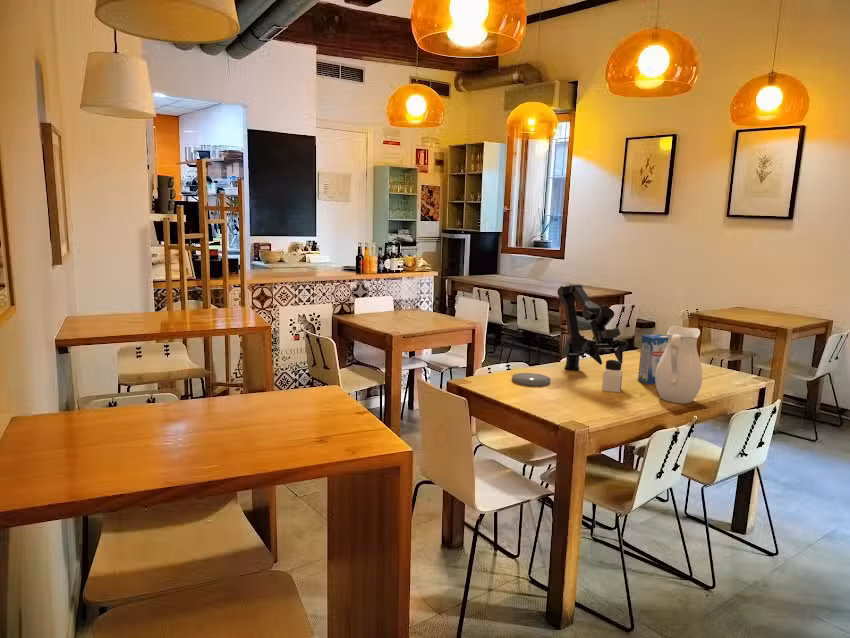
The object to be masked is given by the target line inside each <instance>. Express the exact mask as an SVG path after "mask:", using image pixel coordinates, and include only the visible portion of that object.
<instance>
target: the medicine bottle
mask: <svg viewBox="0 0 850 638" xmlns="http://www.w3.org/2000/svg"><path fill="white" fill-rule="evenodd" d="M622 364H623V362H622V363H621V362H620V361H618V359H608V360H607V361H606V362H605V369H604V371H603V374H602V385H601V391H604V392H613V393H621V390H622V382H623V381H622V378H623V371H622Z"/></svg>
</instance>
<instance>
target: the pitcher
mask: <svg viewBox="0 0 850 638" xmlns="http://www.w3.org/2000/svg"><path fill="white" fill-rule="evenodd" d="M700 335H701V330H700V329H699V328H697V327H683V326H679V325H671V326H670V327H669V329H668V330H667V333H666V336H668V344H667V347H666V349H665V351H664V353H663V355H662V356H661V358H660V360H659V363H658V365H657V368H656V373H655V383H656V384H655V387H656V390H657V392H658V394H659V396H660V398H661V399H662V400H664V401H666V402H670V403H673V404H683V405H684V404H690V403H691V402H693V400H694V399H695V398H696V397H697V396H698V394H699V393H700V390H701V387H702V383H703V368H702V363H701V360H700V357H699V356H700V355H699V353H698V349H697V344H698V343H697V342H698V339H699V338H700Z"/></svg>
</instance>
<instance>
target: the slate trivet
mask: <svg viewBox="0 0 850 638" xmlns="http://www.w3.org/2000/svg"><path fill="white" fill-rule="evenodd" d="M511 382H513V383H514V384H516V383H517V385H519V384H520V385H519V386H524V385H526V387H533V386H537V387H538V388H539V387H547V386H549V385H551V378H550V377H549V376H547V375H545V374H540V373H534V372H519V373H514V374H512V375H511Z"/></svg>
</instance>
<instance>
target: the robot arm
mask: <svg viewBox="0 0 850 638" xmlns="http://www.w3.org/2000/svg"><path fill="white" fill-rule="evenodd" d="M559 286H560V285H559ZM557 295H558V299H559V302H560V303H561V305H563V308H564V309H563V310H564V314H565V321H566V322H565V323H566V326H567V335H568V336H567V338H566V340H565V345H564V347H563V348H562V349H561V350H562V351H561V352H562V355H563V356H565V357H566V360H565V365H564V370H569V371H580V366H579V365H580V357H584V355H585V354H586V356H590V358H592V359H593V360H594V361H596V363H598V364H599V365H602V364H603V361H602V358H601V355H600V353H599V349H607V350H608V349H612V350H613V354H614V355H615V358H616V360H618V361H620V362H621V363H622V364H623V354H624V351H625V350H626V349H627V347H628V346H629V343H628V340H626V339H617V340H616V341H615V342H614V343H612V342H613V341H614V339H615V338H618V337H620V336H621V330H620V328H619V327H615V328H612V329H610V328H609V329H607V327H606V326H607V325H609V324H610V322H611V321H612V320H613V318H614V317H615V311H613V309H612V308H610V307H608V305H604V304H603V305H602V306H601V307H600V306H599V305H598V304H597V303H594V302H593V301H592V300H591V299H590V297H589V296H588V294H587V293H586V291H585V289H584V288H583V285H582V284H580V283H579V284H577V283H576V284H574V283H573V284H570V285H561V286H560V287H559V288H557ZM576 301H577V303H578V304H579V306H580V307H581V310H582V311H581V314H582V316H583V317H582V318H583V319H584V320H585V321H590V322H589V324H588V326H587V329H588V330H591V332H592V335H593V336H592V340H586V338H585V336H584V335H581V334H580V333H581V332H580V330H579V323H578V317H577V309H576V304H575V303H576Z"/></svg>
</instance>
